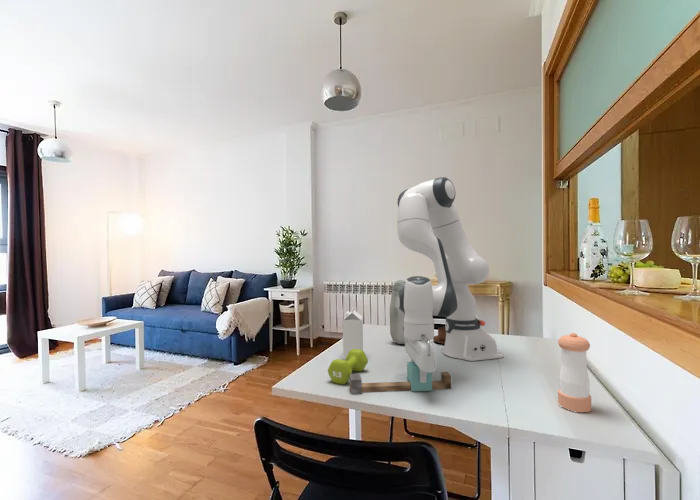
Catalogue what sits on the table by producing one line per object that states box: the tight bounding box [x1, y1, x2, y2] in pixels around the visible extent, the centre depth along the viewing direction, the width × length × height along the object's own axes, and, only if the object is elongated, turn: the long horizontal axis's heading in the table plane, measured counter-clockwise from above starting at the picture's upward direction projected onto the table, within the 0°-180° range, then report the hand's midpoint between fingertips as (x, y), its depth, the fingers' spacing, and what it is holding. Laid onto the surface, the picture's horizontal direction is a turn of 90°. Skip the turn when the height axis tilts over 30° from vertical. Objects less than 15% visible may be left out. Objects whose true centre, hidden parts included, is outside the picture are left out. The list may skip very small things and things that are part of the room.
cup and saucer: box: [432, 326, 446, 345], centre depth 155 cm, size 12×12×6 cm
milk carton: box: [342, 306, 364, 360], centre depth 135 cm, size 7×7×19 cm
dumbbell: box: [327, 349, 369, 385], centre depth 115 cm, size 16×8×7 cm, turn 153°
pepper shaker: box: [557, 332, 592, 413], centre depth 90 cm, size 7×7×19 cm
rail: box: [349, 371, 452, 395], centre depth 103 cm, size 30×5×4 cm, turn 94°
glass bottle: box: [389, 279, 406, 345], centre depth 154 cm, size 10×10×28 cm
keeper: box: [406, 361, 433, 392], centre depth 104 cm, size 6×6×7 cm
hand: (419, 377), depth 104 cm, fingers closed on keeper, 5 cm apart
